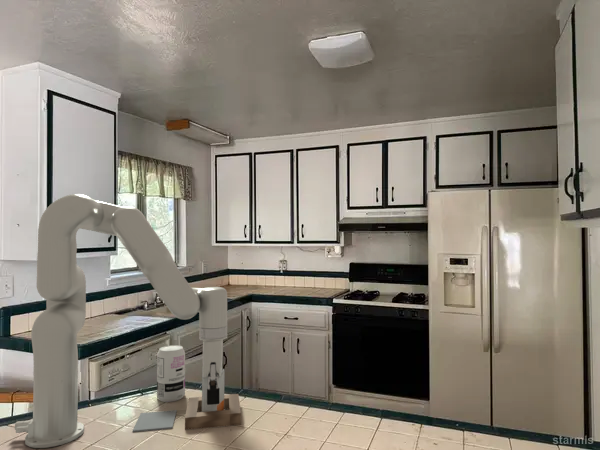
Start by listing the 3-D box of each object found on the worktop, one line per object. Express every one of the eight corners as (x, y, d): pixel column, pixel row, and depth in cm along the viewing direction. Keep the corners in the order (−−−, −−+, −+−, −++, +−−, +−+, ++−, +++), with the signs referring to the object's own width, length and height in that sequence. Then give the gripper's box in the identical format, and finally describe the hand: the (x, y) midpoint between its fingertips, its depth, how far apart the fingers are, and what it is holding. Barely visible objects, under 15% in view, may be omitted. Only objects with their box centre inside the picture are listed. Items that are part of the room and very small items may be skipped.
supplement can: (164, 392, 133) (164, 344, 133) (189, 393, 132) (189, 345, 132) (151, 402, 125) (152, 351, 125) (178, 403, 124) (178, 351, 124)
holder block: (184, 429, 106) (184, 417, 106) (188, 408, 120) (188, 397, 120) (240, 424, 108) (240, 412, 109) (238, 404, 122) (238, 393, 122)
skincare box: (216, 421, 111) (216, 375, 111) (201, 420, 111) (201, 374, 112) (225, 412, 117) (225, 368, 117) (210, 411, 117) (210, 367, 118)
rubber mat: (132, 432, 105) (132, 430, 105) (140, 414, 116) (140, 413, 116) (172, 428, 107) (172, 426, 107) (176, 411, 117) (176, 410, 117)
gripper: (200, 327, 123) (200, 388, 122) (197, 340, 106) (197, 412, 105) (226, 326, 124) (226, 387, 123) (227, 339, 107) (228, 410, 106)
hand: (213, 398), depth 114 cm, fingers closed on skincare box, 7 cm apart
